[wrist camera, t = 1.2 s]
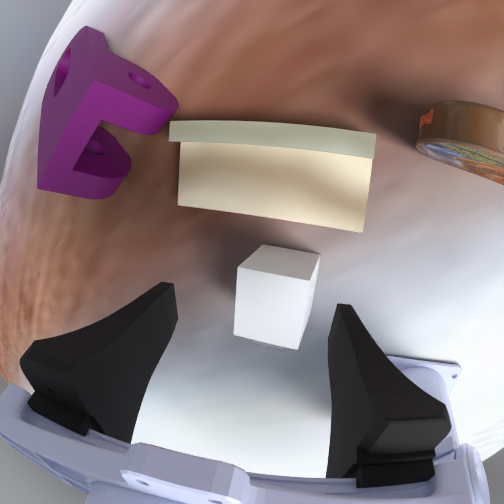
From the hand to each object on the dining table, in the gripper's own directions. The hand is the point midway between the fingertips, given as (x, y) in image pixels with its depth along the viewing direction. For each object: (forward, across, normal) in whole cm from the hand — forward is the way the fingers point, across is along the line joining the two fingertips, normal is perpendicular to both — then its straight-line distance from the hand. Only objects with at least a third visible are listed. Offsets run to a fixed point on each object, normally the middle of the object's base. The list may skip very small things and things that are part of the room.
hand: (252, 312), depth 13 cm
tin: (+10, -16, -7) cm, 20 cm away
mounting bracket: (+17, +17, -10) cm, 26 cm away
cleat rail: (+12, 0, -3) cm, 12 cm away
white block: (+10, -2, +5) cm, 11 cm away
